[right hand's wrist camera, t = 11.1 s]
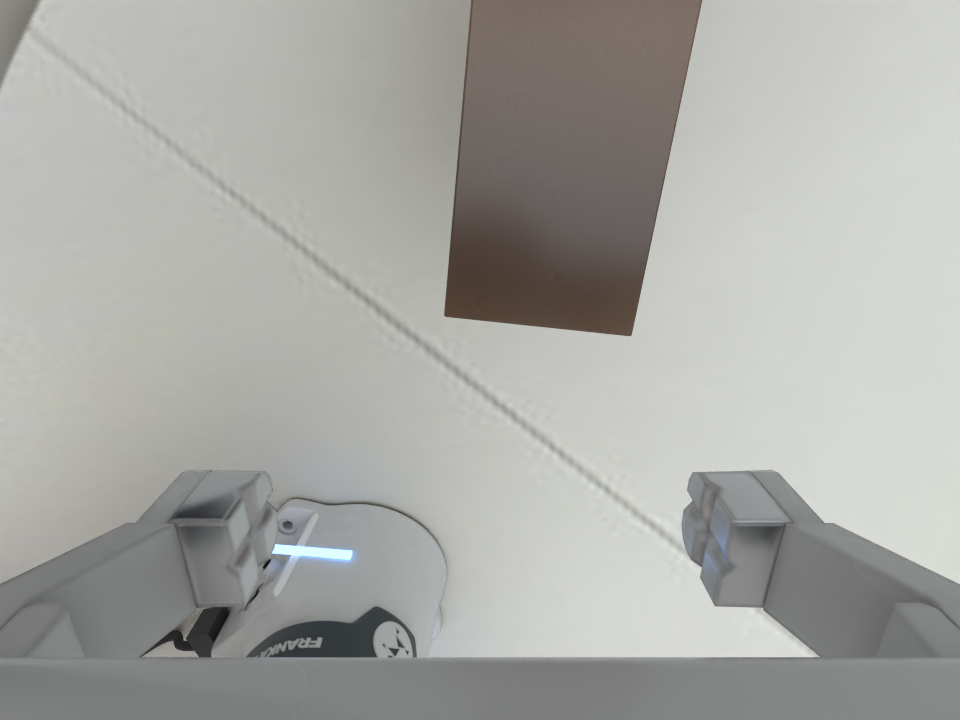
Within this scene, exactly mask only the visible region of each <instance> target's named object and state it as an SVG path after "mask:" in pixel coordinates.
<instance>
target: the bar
mask: <svg viewBox="0 0 960 720" xmlns="http://www.w3.org/2000/svg"><path fill="white" fill-rule="evenodd" d="M701 4H702V0H471V11H470V23H469V34H468V46H467V57H466V69H465V80H464V92H463V104H462V115H461V127H460V138H459V150H458V161H457V173H456V184H455V196H454V208H453V219H452V231H451V242H450V254H449V265H448V277H447V288H446V300H445V312H444V316H445V317H453V318H462V319H472V320H481V321H491V322H500V323H510V324H519V325H529V326H538V327H548V328H557V329H567V330H576V331H586V332H595V333H605V334H614V335H624V336H631V335H632V331H633V326H634V321H635V317H636V312H637V307H638V302H639V298H640V293H641V288H642V283H643V279H644V274H645V269H646V264H647V260H648V255H649V250H650V245H651V241H652V236H653V231H654V226H655V222H656V217H657V212H658V207H659V203H660V198H661V193H662V189H663V184H664V179H665V174H666V170H667V165H668V160H669V155H670V151H671V146H672V141H673V136H674V132H675V127H676V122H677V117H678V113H679V108H680V103H681V98H682V94H683V89H684V84H685V79H686V75H687V70H688V65H689V60H690V56H691V51H692V46H693V41H694V37H695V32H696V27H697V22H698V18H699V13H700V8H701Z"/></svg>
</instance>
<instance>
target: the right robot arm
mask: <svg viewBox="0 0 960 720" xmlns="http://www.w3.org/2000/svg"><path fill="white" fill-rule="evenodd" d="M272 491H273V488H272V484H271V479H270V476H269V475H268V474H267V473H266V472H265V471H221V470H215V471H212V470H189V471H185V472H182V473H181V474H180V475H179V476H178V477H177V478H176V480H175V481H174V482H173V483H172V484H171V485H170V486H169V487H168V488H167V489H166V490H165V491H164V493H163V494H162V495H161V496H160V497H159V498H158V499H157V500H156V501H155V502H154V503H153V504H152V506H151V507H150V508H149V509H148V510H147V511H146V512H145V513H144V514H143V515H142V516H141V517H140V519H139V520H138V521H137V522H136V523H126V524H124V525H122V526H120V527H118V528H116V529H114V530H112V531H110V532H107V533H105V534H103V535H101V536H99V537H97V538H95V539H93V540H91V541H89V542H87V543H85V544H83V545H81V546H78V547H76V548H74V549H72V550H70V551H68V552H66V553H64V554H62V555H60V556H58V557H56V558H54V559H52V560H49V561H47V562H45V563H43V564H41V565H39V566H37V567H35V568H33V569H31V570H29V571H27V572H25V573H23V574H21V575H18V576H16V577H14V578H12V579H10V580H8V581H6V582H4V583H2V584H0V720H960V584H958V583H956V582H954V581H952V580H950V579H947V578H945V577H943V576H941V575H939V574H937V573H935V572H933V571H931V570H929V569H927V568H925V567H923V566H921V565H919V564H916V563H914V562H912V561H910V560H908V559H906V558H904V557H902V556H900V555H898V554H896V553H894V552H892V551H890V550H888V549H886V548H883V547H881V546H879V545H877V544H875V543H873V542H871V541H869V540H867V539H865V538H863V537H861V536H859V535H857V534H855V533H853V532H850V531H848V530H846V529H844V528H842V527H840V526H838V525H836V524H834V523H824V522H823V521H822V520H821V519H820V517H819V516H818V515H817V514H816V513H815V512H814V511H813V510H812V509H811V508H810V507H809V506H808V504H807V503H806V502H805V501H804V500H803V499H802V498H801V497H800V496H799V495H798V494H797V493H796V491H795V490H794V489H793V488H792V487H791V486H790V485H789V484H788V483H787V482H786V481H785V479H784V478H783V477H782V476H781V475H780V474H779V473H778V472H775V471H773V470H753V471H728V472H693V473H692V475H691V477H690V479H689V483H688V488H687V491H688V493H689V495H690V496H691V498H692V500H693V501H692V502H691V503H690V504H689V505H688V506H687V507H686V508H685V509H684V511H683V519H682V534H683V541H684V544H685V548H686V550H687V553H688V555H689V557H690V559H691V560H692V561H694V562H695V563H697V564H698V565H699V566H701V567H702V570H701V576H700V578H701V580H702V582H703V584H704V586H705V588H706V590H707V592H708V594H709V596H710V598H711V600H712V602H713V603H714V605H715V606H724V607H760V608H764V609H763V610H764V611H765V612H767V613H768V614H769V615H770V616H771V617H773V618H774V619H775V620H776V621H777V622H779V623H780V624H781V625H782V626H783V627H785V628H786V629H787V630H788V631H790V632H791V633H792V634H793V635H794V636H796V637H797V638H798V639H799V640H800V641H802V642H803V643H804V644H805V645H807V646H808V647H809V648H810V649H811V650H813V651H814V652H815V653H816V654H817V655H819V656H820V657H473V658H429V653H430V649H431V644H432V640H434V639H436V638H437V637H438V636H439V634H440V630H441V626H442V616H441V610H440V606H439V605H440V601H441V598H442V595H443V592H444V589H445V586H446V581H447V566H446V561H445V558H444V555H443V552H442V550H441V548H440V546H439V545H438V543H437V542H436V540H435V539H434V538H433V537H432V535H431V534H430V533H429V532H428V531H427V530H426V529H425V528H423V527H422V526H421V525H420V524H418V523H417V522H416V521H414V520H412V519H411V518H409V517H407V516H405V515H403V514H401V513H399V512H397V511H394V510H391V509H388V508H384V507H380V506H375V505H368V504H344V505H324V504H320V503H316V502H312V501H308V500H303V499H291V500H289V501H287V502H286V503H285V504H284V505H283V506H282V507H281V508H280V510H279V511H278V512H277V511H276V509H275V508H274V507H273V506H272V505H271V504H270V503H269V502H268V501H267V500H268V498H269V496H270V495H271V493H272ZM286 521H289V522H291V523H292V524H289V523H287V522H286ZM200 607H206V609H204V610H203V611H202V613H201V615H200V616H199V618H198V620H197V621H196V623H195V625H194V626H193V628H192V630H191V631H190V633H189V635H188V636H187V638H186V639H187V641H183V635H182V633H181V632H179V631H174V632H171V631H172V630H173V629H174V628H176V627H177V626H178V625H179V624H180V623H182V622H183V621H184V620H185V619H186V618H188V617H189V616H190V615H191V614H193V613H194V612H195V611H196V610H197V609H196V608H200ZM169 632H170V633H169ZM173 640H174V646H175V648H176V649H179V650H182V651H194V650H195V652H196V653H197V655H198V656H199V657H141V656H143V655H145V654H146V653H148V652H149V651H151V650H153V649H154V648H156V647H158V646H160V645H161V644H163V643H166V642H168V641H173Z"/></svg>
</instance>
